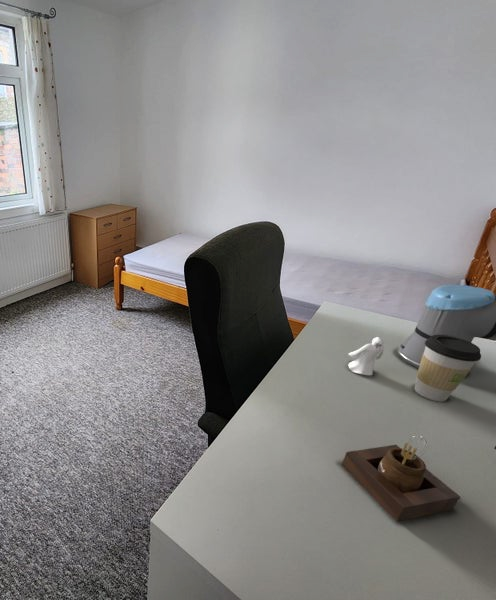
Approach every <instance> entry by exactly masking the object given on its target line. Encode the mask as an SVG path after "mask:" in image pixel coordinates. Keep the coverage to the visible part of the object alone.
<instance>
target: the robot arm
mask: <svg viewBox="0 0 496 600" xmlns="http://www.w3.org/2000/svg"><path fill="white" fill-rule="evenodd" d="M433 335H448V336H453V337H457V338H460V339H463V340H466V341H469V342H471V343H473V340H474V338H479V339H486V340H492V341H496V295H495V293H494V292H493V291H491V290H490V289H486V288H483V287H478V286H477V287H476V286H472V285H466V284H465V285H464V284H445V285H441V286H438V287H436V288H434V289H433V290H432V291H431V293H430V295H429V297H427V299H426V300H425V305H424V307H423V310H422V312H421V315H420V316H419V319H418V321H417V324H416V326H415V329H414V331H413V332H412V333H411V334H410V335H409V336H408V337H406V339H405V340H404V341H402V343H400V344H399V346H398V348H397V350H396V355H397V357H398V358H399V359H401V360H402V361H403V362H405V363H407V365H410V366H412V367H414V368H416V369H417V370H419V366H420V362H421V359H422V355H423V352H424V351H425V347H426V345H425V341H426V340H427V339H429V338H430V337H431V336H433ZM493 449H494V450H496V445H495V446H494V448H493Z"/></svg>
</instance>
